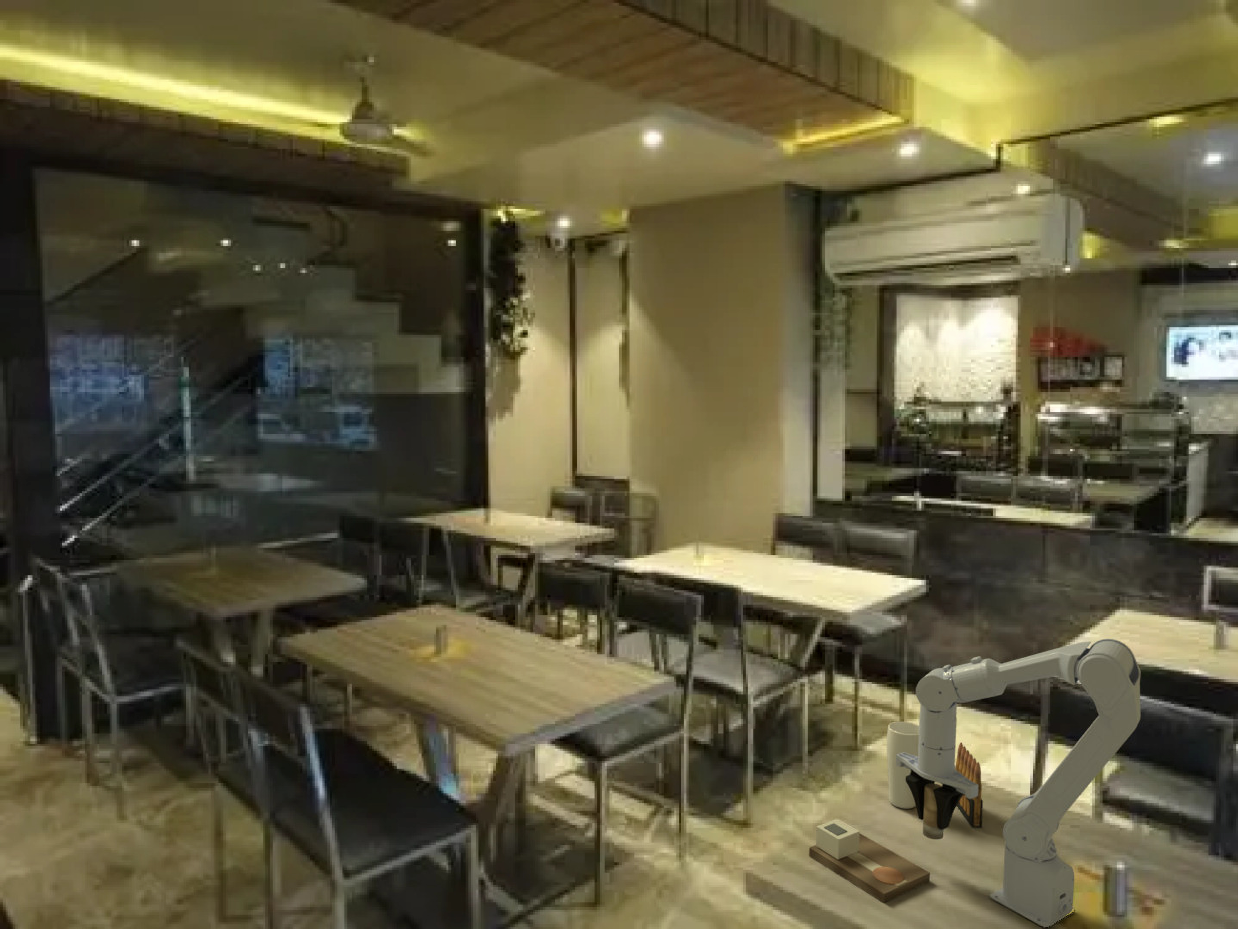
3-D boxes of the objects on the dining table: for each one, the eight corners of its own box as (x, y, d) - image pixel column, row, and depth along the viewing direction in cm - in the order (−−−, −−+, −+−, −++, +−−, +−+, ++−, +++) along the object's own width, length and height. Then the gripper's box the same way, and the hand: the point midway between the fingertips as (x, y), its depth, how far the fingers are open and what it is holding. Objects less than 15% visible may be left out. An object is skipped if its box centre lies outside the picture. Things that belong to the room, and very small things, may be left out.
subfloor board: (929, 881, 143) (929, 872, 143) (883, 903, 137) (884, 892, 137) (853, 838, 156) (854, 829, 156) (809, 856, 150) (809, 846, 150)
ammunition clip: (951, 800, 171) (954, 740, 170) (961, 800, 171) (964, 740, 170) (971, 828, 160) (974, 764, 159) (982, 828, 160) (985, 764, 159)
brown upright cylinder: (947, 836, 145) (949, 789, 144) (934, 841, 143) (936, 794, 143) (931, 827, 148) (933, 782, 147) (918, 833, 146) (920, 786, 145)
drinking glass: (914, 815, 165) (917, 738, 163) (879, 804, 169) (882, 729, 167) (926, 802, 170) (929, 726, 169) (891, 791, 174) (894, 718, 173)
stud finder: (858, 851, 149) (859, 830, 149) (838, 859, 146) (838, 838, 146) (836, 838, 153) (837, 818, 153) (815, 846, 150) (816, 825, 150)
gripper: (991, 753, 140) (987, 835, 142) (916, 723, 152) (913, 799, 154) (963, 763, 137) (960, 847, 138) (888, 732, 149) (886, 809, 150)
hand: (933, 822), depth 146 cm, fingers closed on brown upright cylinder, 3 cm apart
